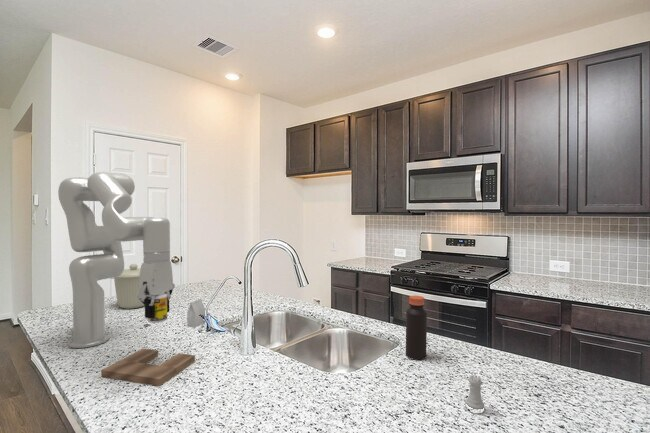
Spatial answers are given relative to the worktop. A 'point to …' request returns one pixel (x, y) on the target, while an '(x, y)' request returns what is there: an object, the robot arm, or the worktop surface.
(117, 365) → the notched board
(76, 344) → the robot arm
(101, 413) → the worktop surface
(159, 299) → the supplement bottle
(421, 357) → the vinegar
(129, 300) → the canister
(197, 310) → the tea bag
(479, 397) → the rook chess piece
